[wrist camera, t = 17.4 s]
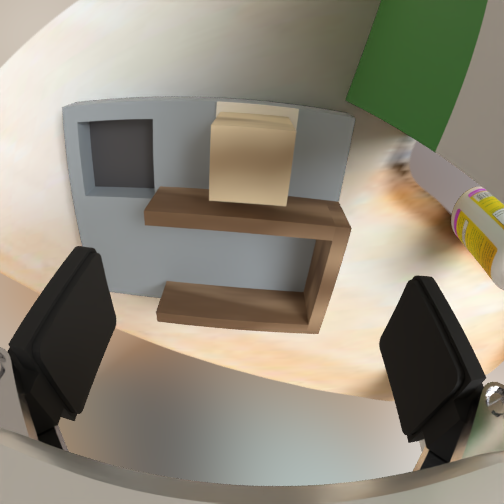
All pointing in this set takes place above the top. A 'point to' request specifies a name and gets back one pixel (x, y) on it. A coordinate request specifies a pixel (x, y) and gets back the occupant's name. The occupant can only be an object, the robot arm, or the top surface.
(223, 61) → the top surface
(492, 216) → the supplement bottle
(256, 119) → the block
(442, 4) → the hardback book
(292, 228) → the brown wooden u-shaped frame
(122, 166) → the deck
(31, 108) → the top surface
